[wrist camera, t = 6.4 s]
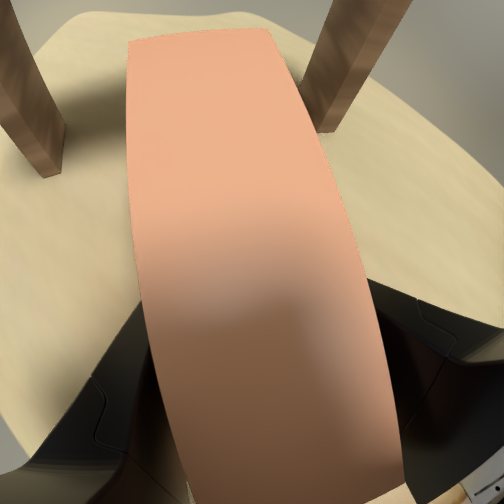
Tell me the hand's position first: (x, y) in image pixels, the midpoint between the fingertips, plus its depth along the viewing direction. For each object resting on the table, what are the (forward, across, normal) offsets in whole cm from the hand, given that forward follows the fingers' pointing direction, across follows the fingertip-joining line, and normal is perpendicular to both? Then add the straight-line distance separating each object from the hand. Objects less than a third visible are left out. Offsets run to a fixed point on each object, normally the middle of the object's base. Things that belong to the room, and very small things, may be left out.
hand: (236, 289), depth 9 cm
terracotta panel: (+5, 0, +4) cm, 7 cm away
